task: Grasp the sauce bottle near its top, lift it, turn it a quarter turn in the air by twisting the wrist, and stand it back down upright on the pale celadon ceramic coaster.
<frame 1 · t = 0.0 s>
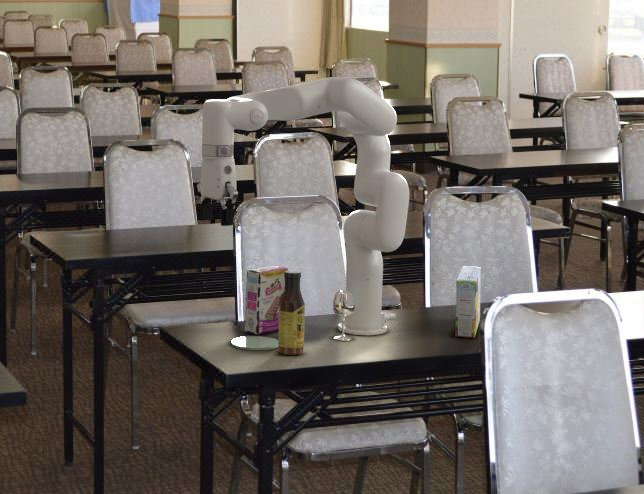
hand: (216, 222, 297), 31 cm above the table, tool pointing down, fingers open, 9 cm apart
wineglass: (342, 339, 314), on the table
snack box: (467, 329, 327), on the table
coaster: (255, 344, 307), on the table
candy bar box: (265, 331, 321), on the table
sauce bottle: (290, 353, 299), on the table
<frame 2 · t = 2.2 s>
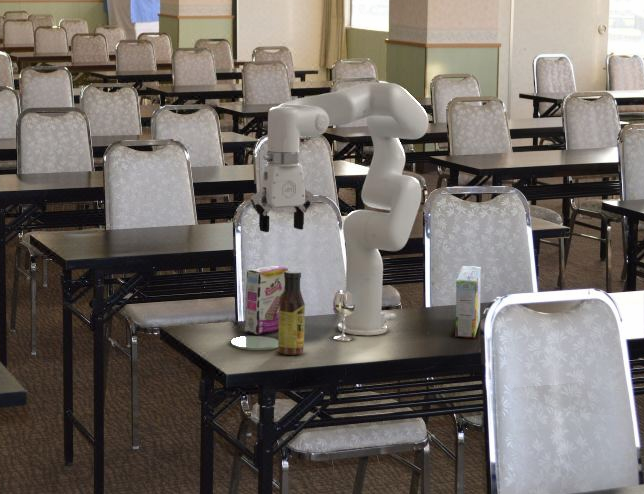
hand: (281, 230, 295), 30 cm above the table, tool pointing down, fingers open, 9 cm apart
nothing on the table moved.
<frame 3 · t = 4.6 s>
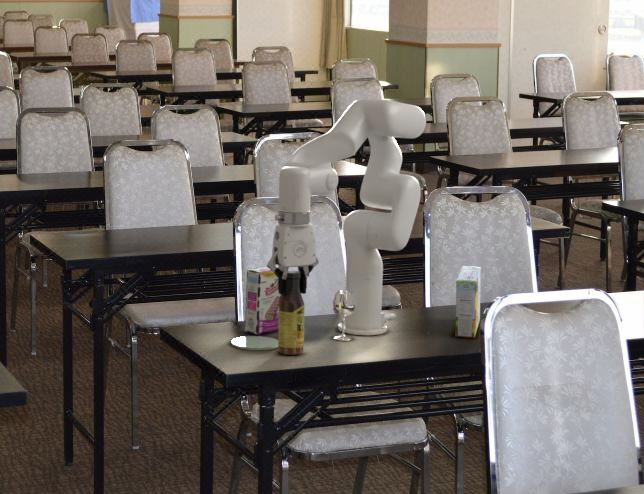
hand: (292, 292, 297), 15 cm above the table, tool pointing down, fingers closed on sauce bottle, 4 cm apart
sauce bottle: (290, 353, 299), on the table, touching gripper
everything else where it was.
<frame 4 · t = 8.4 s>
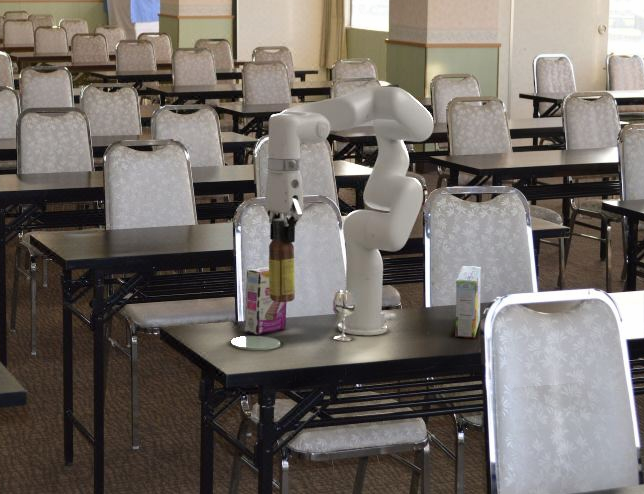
hand: (282, 240, 298), 27 cm above the table, tool pointing down, fingers closed on sauce bottle, 4 cm apart
sauce bottle: (281, 300, 300), point 12 cm above the table, touching gripper
everything else where it was.
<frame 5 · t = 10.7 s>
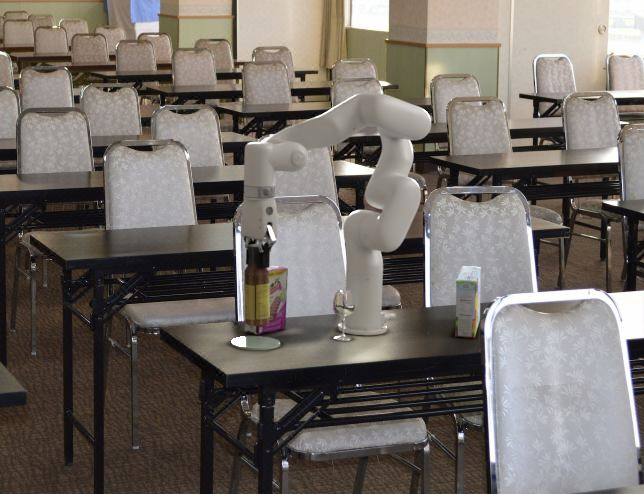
hand: (257, 265, 304), 20 cm above the table, tool pointing down, fingers closed on sauce bottle, 4 cm apart
sauce bottle: (256, 324, 306), point 5 cm above the table, touching gripper
everything else where it was.
when the fingers open (15 cm above the table, at t = 12.2 s): sauce bottle stays where it is, resting on coaster.
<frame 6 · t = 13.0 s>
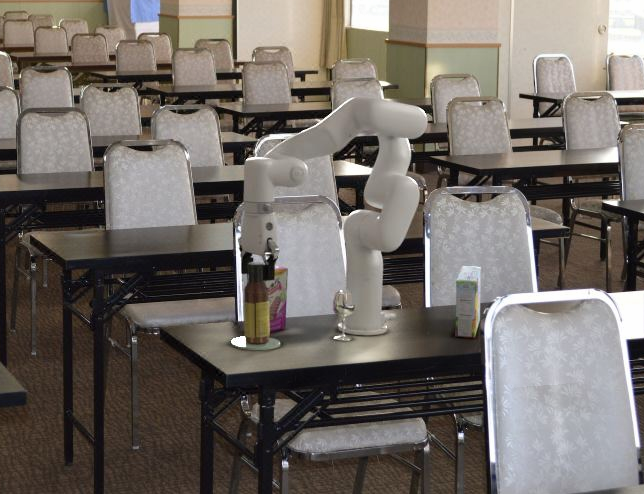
hand: (257, 276, 305), 17 cm above the table, tool pointing down, fingers open, 9 cm apart
sauce bottle: (256, 342, 306), resting on coaster
everything else where it was.
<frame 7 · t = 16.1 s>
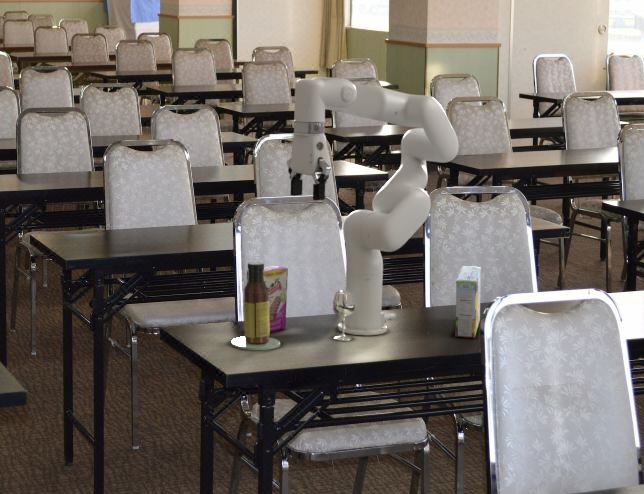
hand: (307, 197, 307), 36 cm above the table, tool pointing down, fingers open, 9 cm apart
nothing on the table moved.
at the end: sauce bottle 0.1 cm off-centre on the coaster, point 0.4 cm above the coaster's base; sauce bottle tilted 0°; the gripper is holding nothing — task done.
